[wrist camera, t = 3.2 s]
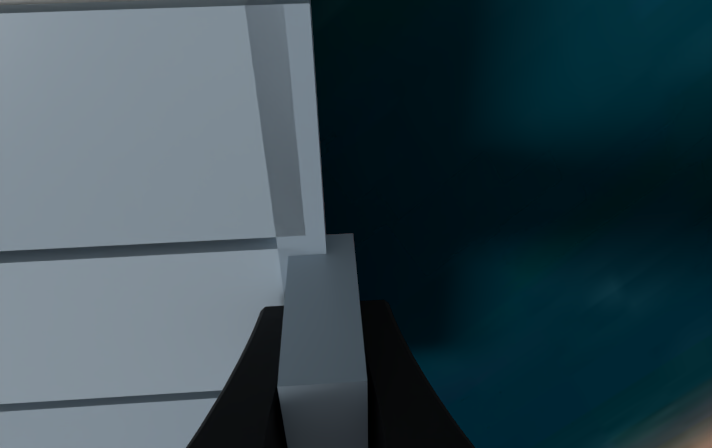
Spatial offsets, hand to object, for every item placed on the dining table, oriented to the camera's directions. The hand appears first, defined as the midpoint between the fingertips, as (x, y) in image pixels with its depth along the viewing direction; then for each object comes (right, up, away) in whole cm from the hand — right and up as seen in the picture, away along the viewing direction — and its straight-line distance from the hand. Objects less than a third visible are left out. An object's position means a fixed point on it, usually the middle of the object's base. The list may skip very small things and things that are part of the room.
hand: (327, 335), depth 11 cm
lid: (-5, 0, +1) cm, 5 cm away
